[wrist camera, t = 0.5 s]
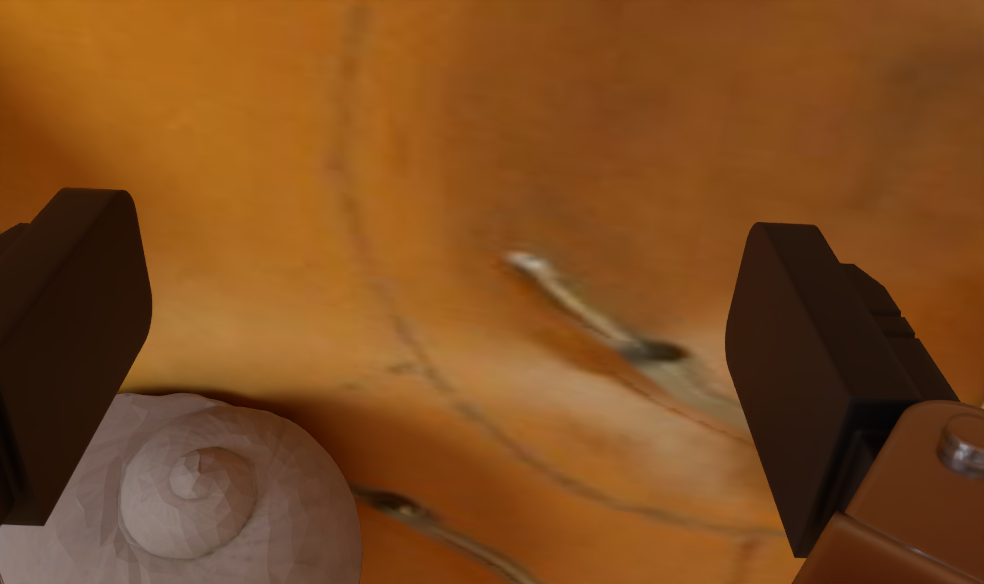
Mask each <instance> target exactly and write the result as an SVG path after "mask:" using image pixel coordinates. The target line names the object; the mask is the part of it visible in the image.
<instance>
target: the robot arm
mask: <svg viewBox="0 0 984 584" xmlns="http://www.w3.org/2000/svg"><path fill="white" fill-rule="evenodd" d="M151 318H152V293H151V287H150V282H149V277H148V271H147V266H146V261H145V255H144V250H143V245H142V239H141V234H140V229H139V223H138V218H137V213H136V208H135V204H134V201H133V199H132V197H131V195H130V194H129V193H128V192H127V191H125V190H112V189H91V188H70V187H66V188H62V189H61V190H60V191H58V192H57V194H56V195H55V196H54V197H53V198H52V199H51V200H50V201H49V203H48V204H47V205H46V206H45V207H44V208H43V209H42V210H41V212H40V213H39V214H38V215H37V216H36V217H35V218H34V219H33V221H32V222H31V223H30V224H28V223H19V224H18V225H16V226H14V227H12V228H10V229H8V230H7V231H5V232H3V233H1V234H0V527H1V525H22V526H45V524H46V522H47V520H48V518H49V517H50V515H51V513H52V511H53V509H54V507H55V506H56V504H57V502H58V500H59V498H60V496H61V495H62V493H63V491H64V489H65V487H66V485H67V484H68V482H69V480H70V478H71V476H72V474H73V473H74V471H75V469H76V467H77V465H78V463H79V462H80V460H81V458H82V456H83V454H84V452H85V451H86V449H87V447H88V445H89V443H90V441H91V440H92V438H93V436H94V434H95V432H96V430H97V429H98V427H99V425H100V423H101V421H102V419H103V418H104V416H105V414H106V412H107V410H108V408H109V407H110V405H111V403H112V401H113V399H114V397H115V396H116V394H117V392H118V390H119V388H120V386H121V385H122V383H123V381H124V379H125V377H126V375H127V374H128V372H129V370H130V368H131V366H132V364H133V363H134V361H135V359H136V357H137V355H138V353H139V352H140V350H141V348H142V346H143V344H144V342H145V340H146V338H147V336H148V333H149V329H150V325H151ZM725 352H726V361H727V365H728V369H729V372H730V374H731V377H732V380H733V383H734V386H735V389H736V392H737V395H738V397H739V400H740V403H741V406H742V409H743V412H744V415H745V417H746V420H747V423H748V426H749V429H750V432H751V435H752V437H753V440H754V443H755V446H756V449H757V452H758V455H759V457H760V460H761V463H762V466H763V469H764V472H765V475H766V477H767V480H768V483H769V486H770V489H771V492H772V495H773V497H774V500H775V503H776V506H777V509H778V512H779V515H780V517H781V520H782V523H783V526H784V529H785V532H786V535H787V537H788V540H789V543H790V546H791V549H792V552H793V555H794V557H795V558H807V559H806V560H805V562H804V564H803V565H802V567H801V569H800V570H799V572H798V574H797V575H796V577H795V579H794V581H793V582H792V584H984V409H983V408H980V407H977V406H974V405H970V404H966V403H962V402H960V400H959V399H958V397H957V396H956V394H955V393H954V391H953V390H952V388H951V387H950V385H949V384H948V382H947V380H946V379H945V377H944V376H943V374H942V373H941V371H940V370H939V368H938V367H937V365H936V364H935V362H934V361H933V359H932V358H931V356H930V355H929V353H928V352H927V350H926V349H925V347H924V346H923V344H922V343H921V341H920V340H919V339H917V338H915V332H914V331H913V329H912V328H911V326H910V325H909V323H908V322H907V320H906V319H905V317H901V311H900V310H899V308H898V307H897V305H896V304H895V302H894V301H893V299H892V298H891V296H890V295H889V293H888V292H887V290H886V289H885V287H884V286H883V285H881V284H880V283H879V282H877V281H876V280H874V279H873V278H872V277H870V276H869V275H868V274H866V273H865V272H864V271H862V270H861V269H860V268H858V267H857V266H856V265H854V264H843V263H839V261H838V259H837V258H836V256H835V254H834V253H833V251H832V249H831V248H830V246H829V245H828V243H827V241H826V240H825V238H824V236H823V235H822V233H821V232H820V230H819V229H818V227H817V226H815V225H807V224H786V223H766V222H757V223H755V224H754V225H753V226H752V228H751V230H750V232H749V235H748V237H747V241H746V245H745V249H744V253H743V257H742V261H741V266H740V270H739V274H738V278H737V282H736V286H735V290H734V294H733V299H732V303H731V307H730V311H729V315H728V320H727V325H726V334H725ZM0 584H4V582H3V579H2V576H1V574H0Z"/></svg>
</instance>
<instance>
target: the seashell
mask: <svg viewBox="0 0 984 584" xmlns="http://www.w3.org/2000/svg"><path fill="white" fill-rule="evenodd" d="M362 555H363V553H362V537H361V531H360V524H359V518H358V513H357V508H356V502H355V500H354V497H353V495H352V493H351V491H350V488H349V486H348V484H347V482H346V480H345V477H344V476H343V474H342V472H341V471H340V469H339V468H338V466H337V465H336V463H335V461H334V460H333V459H332V457H331V456H330V455H329V454H328V453H327V451H326V450H325V449H324V448H323V447H322V446H321V445H320V444H319V443H318V442H317V441H316V440H315V439H314V438H313V437H312V436H311V435H310V434H309V433H308V432H307V431H305V430H304V429H303V428H301V427H300V426H299V425H297V424H295V423H294V422H292V421H290V420H289V419H286V418H283V417H280V416H278V415H275V414H273V413H271V412H269V411H265V410H257V409H252V408H246V407H235V406H232V405H230V404H228V403H225V402H223V401H219V400H215V399H208V398H205V397H203V396H200V395H198V394H190V393H177V394H170V395H165V396H149V395H140V394H134V393H124V394H116V396H115V397H114V399H113V401H112V403H111V405H110V407H109V408H108V410H107V412H106V414H105V416H104V418H103V419H102V421H101V423H100V425H99V427H98V429H97V430H96V432H95V434H94V436H93V438H92V440H91V441H90V443H89V445H88V447H87V449H86V451H85V452H84V454H83V456H82V458H81V460H80V462H79V463H78V465H77V467H76V469H75V471H74V473H73V474H72V476H71V478H70V480H69V482H68V484H67V485H66V487H65V489H64V491H63V493H62V495H61V496H60V498H59V500H58V502H57V504H56V506H55V507H54V509H53V511H52V513H51V515H50V517H49V518H48V520H47V522H46V524H45V526H22V525H1V527H0V574H1V576H2V579H3V582H4V584H359V582H360V576H361V568H362Z"/></svg>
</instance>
